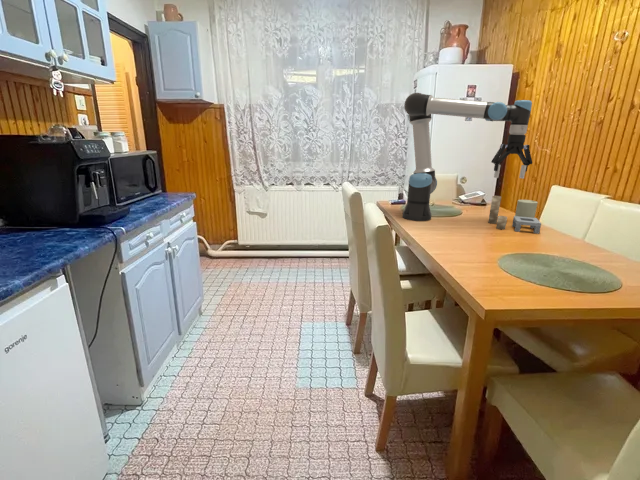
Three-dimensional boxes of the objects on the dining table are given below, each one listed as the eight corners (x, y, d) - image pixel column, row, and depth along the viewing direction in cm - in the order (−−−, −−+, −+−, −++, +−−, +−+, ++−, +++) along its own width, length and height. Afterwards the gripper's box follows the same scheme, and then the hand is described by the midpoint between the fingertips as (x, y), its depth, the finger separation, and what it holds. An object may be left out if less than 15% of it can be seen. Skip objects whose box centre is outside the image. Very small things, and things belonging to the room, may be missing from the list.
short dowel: (496, 229, 170) (498, 217, 168) (495, 227, 173) (497, 215, 171) (505, 229, 168) (507, 217, 166) (504, 228, 172) (506, 216, 170)
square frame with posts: (515, 231, 166) (517, 221, 164) (512, 225, 177) (513, 216, 175) (539, 233, 162) (541, 223, 161) (534, 227, 173) (536, 218, 172)
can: (537, 225, 178) (542, 202, 175) (519, 224, 178) (523, 201, 175) (527, 220, 187) (531, 198, 183) (510, 220, 187) (514, 198, 184)
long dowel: (488, 223, 180) (492, 196, 176) (487, 221, 184) (492, 195, 180) (496, 224, 179) (501, 197, 175) (496, 222, 183) (500, 196, 178)
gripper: (497, 133, 165) (489, 178, 171) (546, 135, 167) (536, 179, 173) (488, 133, 172) (481, 176, 178) (536, 135, 174) (527, 177, 181)
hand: (508, 178), depth 176 cm, fingers open, 13 cm apart
